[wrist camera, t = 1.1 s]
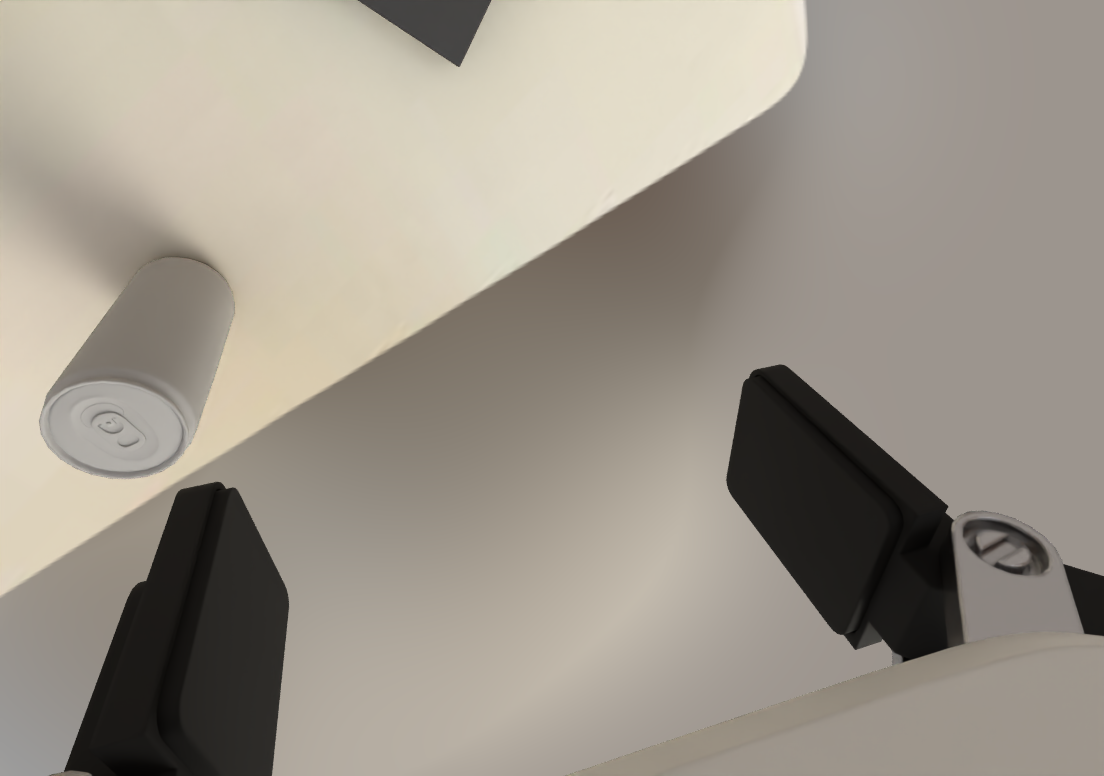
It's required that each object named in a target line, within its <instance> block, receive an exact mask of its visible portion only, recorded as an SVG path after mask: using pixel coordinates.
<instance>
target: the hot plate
mask: <svg viewBox="0 0 1104 776" xmlns="http://www.w3.org/2000/svg"><path fill="white" fill-rule="evenodd" d="M358 1H360V2H361V3H363V4H364V5H366V6H367V7H369V8H370V9H372V10H373V11H375V12H376V13H378V14H379V15H381V16H382V17H384V18H385V19H387V20H388V21H390V22H392V23H393V24H395V25H396V26H398V27H399V28H401V29H402V30H404V31H405V32H407V33H408V34H410V35H411V36H413V37H414V38H416V39H417V40H419V41H420V42H422V43H423V44H425V45H426V46H428V47H429V48H431V49H432V50H434V51H435V52H437V53H438V54H440V55H441V56H443V57H444V58H446V59H447V60H449V61H450V62H452V63H453V64H455V65H456V66H458V67H460V65H461V63H462V61H463V59H464V57H465V55H466V52H467V50H468V48H469V46H470V44H471V42H472V40H473V38H474V36H475V34H476V32H477V29H478V27H479V25H480V23H481V21H482V19H483V17H484V15H485V13H486V11H487V8H488V6H489V4H490V2H491V0H358Z"/></svg>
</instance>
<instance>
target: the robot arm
mask: <svg viewBox="0 0 1104 776" xmlns="http://www.w3.org/2000/svg"><path fill="white" fill-rule="evenodd" d="M726 481H727V486H728V490H729V492H730V494H731V495H732V497H733V498H734V499H735V501H736V502H737V504H738V505H739V506H740V508H741V509H742V510H743V511H744V513H745V514H746V515H747V517H748V518H749V520H750V521H751V522H752V524H753V525H754V526H755V528H756V529H757V530H758V532H759V533H760V534H761V536H762V537H763V538H764V540H765V541H766V542H767V544H768V545H769V546H770V547H771V549H772V550H773V551H774V553H775V554H776V556H777V557H778V558H779V559H780V561H781V562H782V564H783V565H784V566H785V568H786V569H787V570H788V572H789V573H790V574H791V576H792V577H793V578H794V579H795V581H796V582H797V584H798V585H799V586H800V588H801V589H802V590H803V592H804V593H805V594H806V595H807V597H808V598H809V599H810V601H811V602H812V604H813V605H814V606H815V608H816V609H817V610H818V611H819V613H820V614H821V615H822V617H823V618H824V620H825V621H826V622H827V624H828V625H829V626H830V627H831V629H832V630H833V631H835V632H836V633H837V634H840V635H844V636H845V637H846V638H847V640H848V641H849V642H850V644H851V645H852V646H853V648H854V649H855V650H857V649H860V648H863V647H866V646H869V645H872V644H875V643H878V642H881V641H882V639H883V640H884V641H885V642H886V643H887V644H888V646H889V647H890V648H891V650H892V663H893V664H892V666H891V667H887V668H884V669H881V670H878V671H875V672H871V673H869V674H865V675H862V676H860V677H856V678H853V679H850V680H847V681H844V682H841V683H838V684H835V685H832V686H830V687H826V688H823V689H820V690H817V691H815V692H811V693H808V694H806V695H802V696H799V697H796V698H794V699H791V700H788V701H784V702H781V703H779V704H776V705H773V706H770V707H767V708H764V709H761V710H758V711H755V712H752V713H749V714H746V715H743V716H740V717H737V718H734V719H731V720H728V721H725V722H722V723H719V724H716V725H713V726H710V727H707V728H704V729H701V730H698V731H695V732H693V733H690V734H687V735H684V736H681V737H678V738H675V739H672V740H669V741H666V742H663V743H660V744H657V745H654V746H651V747H648V748H645V749H642V750H639V751H637V752H634V753H631V754H628V755H625V756H622V757H619V758H616V759H613V760H610V761H607V762H604V763H601V764H599V765H595V766H593V767H590V768H587V769H584V770H581V771H578V772H575V773H572V774H569V775H566V776H1104V576H1101V575H1098V574H1094V573H1091V572H1088V571H1085V570H1081V569H1078V568H1075V567H1071V566H1068V565H1065V564H1063V563H1062V560H1061V558H1060V556H1059V554H1058V552H1057V550H1056V548H1055V547H1054V546H1053V545H1052V544H1051V543H1050V542H1049V541H1048V540H1047V539H1046V538H1045V536H1043V535H1042V534H1040V533H1039V532H1038V531H1036V530H1035V529H1033V528H1032V527H1030V526H1029V525H1027V524H1025V523H1022V522H1021V521H1019V520H1017V519H1015V518H1012V517H1009V516H1005V515H1002V514H999V513H994V512H987V511H971V512H966V513H964V514H962V515H959V516H958V517H957V518H956V519H955V520H953V519H952V518H951V517H950V516H948V515H947V514H946V513H945V512H946V510H947V508H948V505H946V504H945V503H944V502H943V501H942V500H941V499H939V498H938V497H937V496H936V495H935V494H934V493H933V492H931V491H930V490H929V489H928V488H927V487H926V486H924V485H923V484H922V483H921V482H920V481H919V480H917V479H916V478H915V477H914V476H913V475H912V474H911V473H909V472H908V471H907V470H906V469H905V468H904V467H903V466H901V465H900V464H899V463H898V462H897V461H895V460H894V459H893V458H892V457H891V456H890V455H889V454H887V453H886V452H885V451H884V450H883V449H882V448H881V447H879V446H878V445H877V444H876V443H875V442H874V441H873V440H871V439H870V438H869V437H868V436H867V435H866V434H864V433H863V432H862V431H861V430H860V429H858V428H857V427H856V426H855V425H854V424H853V423H852V422H851V421H849V420H848V419H847V418H846V417H845V416H844V415H842V414H841V413H840V412H839V411H838V410H837V409H836V408H834V407H833V406H832V405H831V404H830V403H829V402H827V401H826V400H825V399H824V398H823V397H822V396H821V395H819V394H818V393H817V392H816V391H815V390H814V389H812V388H811V387H810V386H809V385H808V384H807V383H805V382H804V381H803V380H802V379H801V378H800V377H799V376H797V375H796V374H795V373H794V372H793V371H792V370H790V369H789V368H788V367H787V366H785V365H775V366H771V367H766V368H761V369H757V370H754V371H753V372H752V373H751V374H750V377H749V379H746V380H745V381H744V383H743V387H742V394H741V399H740V405H739V410H738V415H737V421H736V427H735V433H734V439H733V444H732V449H731V455H730V461H729V466H728V472H727V479H726ZM288 610H289V599H288V593H287V589H286V587H285V584H284V583H283V580H282V578H281V576H280V575H279V572H278V570H277V568H276V566H275V564H274V562H273V560H272V558H271V556H270V554H269V552H268V550H267V548H266V546H265V544H264V542H263V541H262V538H261V536H260V534H259V532H258V530H257V528H256V526H255V524H254V522H253V520H252V518H251V516H250V514H249V512H248V510H247V508H246V506H245V504H244V502H243V500H242V498H241V496H240V494H239V492H238V491H237V489H236V488H229V489H226V488H225V487H224V485H223V484H222V483H221V482H214V483H209V484H204V485H200V486H195V487H190V488H186V489H181V490H180V491H179V492H178V493H177V495H176V497H175V500H174V503H173V506H172V509H171V512H170V515H169V517H168V520H167V524H166V526H165V529H164V532H163V535H162V538H161V540H160V544H159V546H158V549H157V552H156V555H155V558H154V561H153V563H152V567H151V569H150V573H149V575H148V578H147V581H144V582H140V583H138V584H137V585H136V586H135V587H134V588H133V589H132V591H131V593H130V595H129V597H128V599H127V602H126V604H125V607H124V610H123V613H122V615H121V618H120V621H119V623H118V626H117V629H116V632H115V634H114V637H113V640H112V642H111V645H110V648H109V651H108V653H107V656H106V659H105V661H104V664H103V667H102V670H101V672H100V675H99V678H98V680H97V683H96V686H95V689H94V691H93V694H92V697H91V700H90V702H89V705H88V708H87V710H86V713H85V716H84V719H83V721H82V724H81V727H80V729H79V732H78V735H77V738H76V740H75V743H74V746H73V748H72V751H71V754H70V757H69V759H68V762H67V765H66V767H65V770H64V772H61V773H57V774H52V775H50V776H272V769H273V759H274V749H275V740H276V730H277V719H278V710H279V700H280V690H281V680H282V670H283V660H284V650H285V641H286V631H287V621H288Z"/></svg>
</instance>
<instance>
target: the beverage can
mask: <svg viewBox="0 0 1104 776" xmlns="http://www.w3.org/2000/svg"><path fill="white" fill-rule="evenodd" d="M234 311H235V302H234V298H233V293H232V291H231V289H230V287H229V285H228V283H227V281H226V280H225V279H224V278H223V277H222V276H221V275H220V274H219V273H218V272H217V271H215V270H214V269H212V268H210V267H209V266H207V265H206V264H203V263H201V262H198V261H195V260H193V259H187V258H181V257H167V258H161V259H158V260H154V261H151V262H149V263H148V264H146V265H144V266H143V267H141V268H140V269H139V270H138V272H137V273H136V274H135V275H134V277H133V278H132V279H131V281H130V282H129V283H128V285H127V286H126V287H125V289H124V290H123V291H122V293H121V294H120V296H119V297H118V298H117V300H116V301H115V302H114V304H113V305H112V306H111V308H110V309H109V310H108V312H107V313H106V314H105V316H104V317H103V319H102V320H101V321H100V323H99V324H98V325H97V327H96V328H95V329H94V331H93V332H92V333H91V335H90V336H89V338H88V339H87V340H86V342H85V343H84V344H83V346H82V347H81V348H80V350H79V351H78V352H77V354H76V355H75V357H74V358H73V359H72V361H71V362H70V363H69V365H68V366H67V367H66V369H65V370H64V371H63V373H62V374H61V376H60V377H59V378H58V380H57V381H56V382H55V384H54V385H53V386H52V388H51V389H50V390H49V392H48V393H47V395H46V399H45V402H44V406H43V409H42V412H41V416H40V420H39V423H40V430H41V435H42V437H43V439H44V441H45V442H46V444H47V446H48V448H49V449H50V450H51V451H52V452H53V453H54V454H56V455H57V456H58V457H59V458H60V459H61V460H63V461H64V462H66V463H67V464H69V465H71V466H72V467H74V468H76V469H79V470H81V471H84V472H86V473H89V474H92V475H96V476H101V477H106V478H112V479H134V478H141V477H147V476H150V475H153V474H156V473H159V472H162V471H164V470H165V469H167V468H168V467H170V466H172V465H173V464H175V463H176V461H177V460H178V459H179V458H180V457H181V456H182V455H183V454H184V451H185V450H186V449H187V447H188V446H189V445H190V444H191V442H192V440H193V437H194V435H195V432H196V430H197V427H198V424H199V421H200V418H201V415H202V412H203V409H204V406H205V403H206V400H207V397H208V394H209V392H210V389H211V386H212V383H213V380H214V377H215V374H216V371H217V368H218V365H219V361H220V358H221V355H222V352H223V349H224V345H225V342H226V339H227V336H228V333H229V329H230V326H231V323H232V320H233V317H234Z"/></svg>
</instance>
